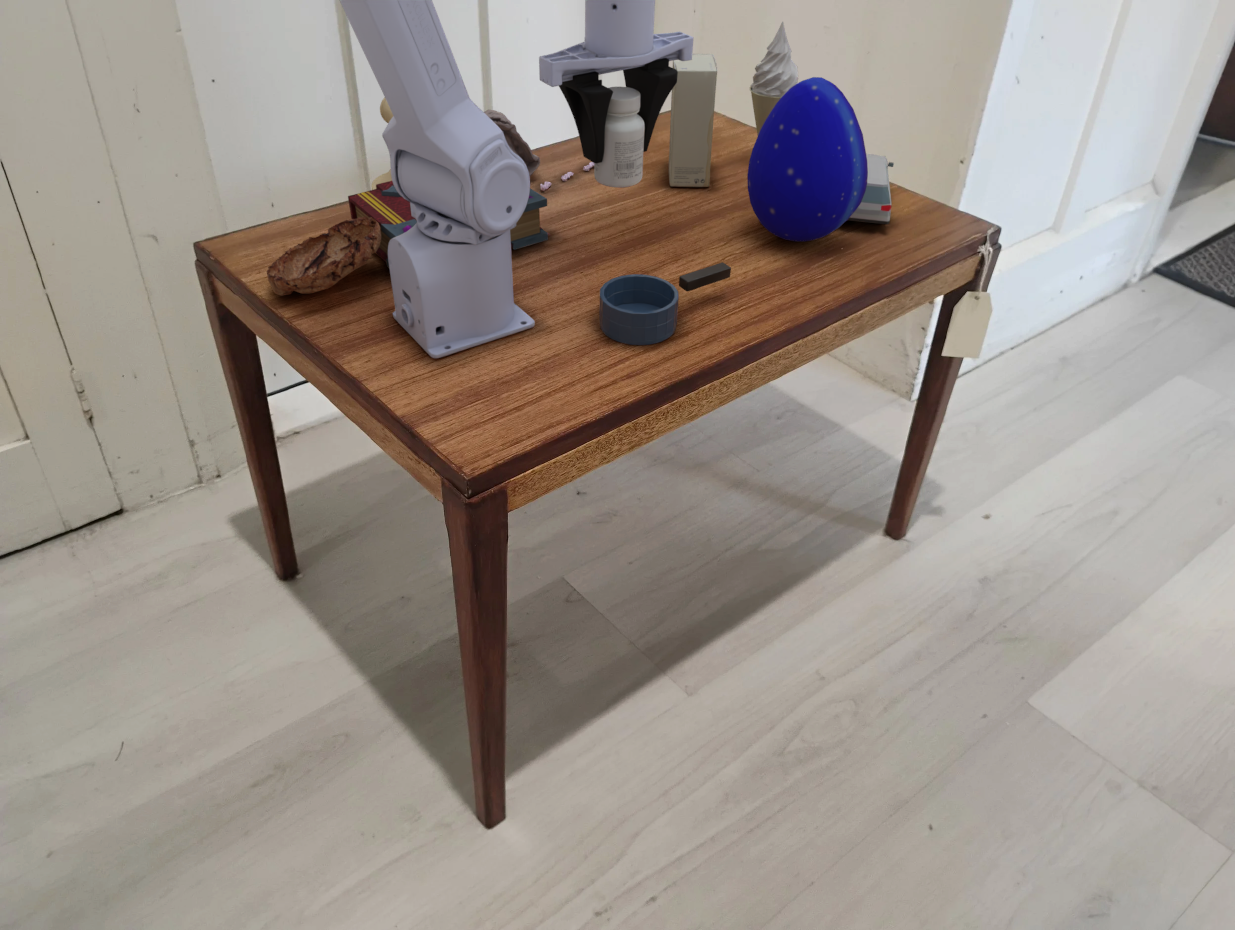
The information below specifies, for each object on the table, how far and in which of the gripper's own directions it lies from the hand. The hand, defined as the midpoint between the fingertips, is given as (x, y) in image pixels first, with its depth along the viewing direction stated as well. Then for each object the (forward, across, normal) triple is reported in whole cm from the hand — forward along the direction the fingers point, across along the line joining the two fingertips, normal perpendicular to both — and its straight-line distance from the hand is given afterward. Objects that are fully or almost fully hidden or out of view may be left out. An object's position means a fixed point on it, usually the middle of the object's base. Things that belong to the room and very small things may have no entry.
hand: (616, 153), depth 86 cm
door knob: (+4, +12, -17) cm, 21 cm away
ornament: (+9, -16, +8) cm, 20 cm away
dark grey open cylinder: (+9, +6, +13) cm, 17 cm away
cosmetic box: (+9, -16, -9) cm, 21 cm away
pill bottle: (+2, 0, 0) cm, 2 cm away
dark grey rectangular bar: (+7, -1, +13) cm, 15 cm away
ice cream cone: (+9, -26, -8) cm, 29 cm away
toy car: (+9, -27, +6) cm, 29 cm away
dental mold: (+6, +2, -18) cm, 19 cm away
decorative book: (+9, +12, -9) cm, 18 cm away
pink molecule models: (+9, -2, -15) cm, 18 cm away
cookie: (+5, +26, -8) cm, 27 cm away
